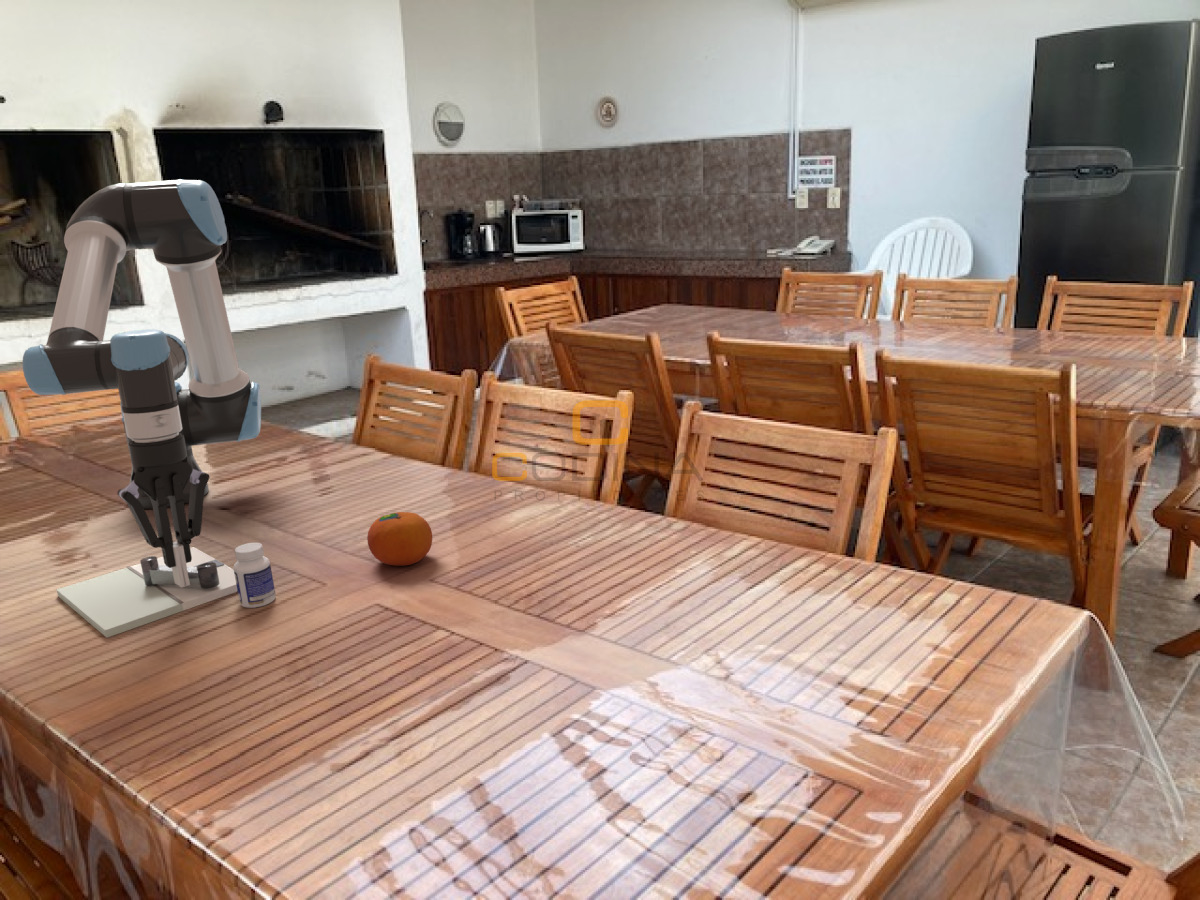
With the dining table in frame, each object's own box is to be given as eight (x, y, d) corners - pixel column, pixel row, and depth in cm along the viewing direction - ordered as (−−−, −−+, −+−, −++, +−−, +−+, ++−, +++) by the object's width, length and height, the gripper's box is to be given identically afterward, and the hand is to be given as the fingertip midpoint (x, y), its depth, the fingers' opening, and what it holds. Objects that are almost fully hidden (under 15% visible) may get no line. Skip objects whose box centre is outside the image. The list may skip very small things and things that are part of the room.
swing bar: (140, 585, 148) (135, 562, 147) (153, 578, 150) (148, 555, 149) (212, 590, 145) (207, 566, 143) (223, 583, 147) (219, 559, 146)
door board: (194, 553, 164) (193, 545, 164) (252, 586, 149) (251, 578, 149) (58, 596, 149) (56, 588, 149) (106, 637, 134) (104, 629, 134)
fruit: (447, 553, 158) (442, 508, 156) (410, 577, 149) (404, 531, 147) (395, 546, 163) (390, 502, 160) (357, 569, 154) (350, 523, 151)
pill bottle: (283, 595, 145) (274, 542, 143) (261, 610, 140) (251, 555, 138) (255, 592, 147) (245, 539, 144) (232, 606, 142) (222, 552, 140)
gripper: (117, 449, 131) (147, 604, 138) (209, 430, 140) (233, 577, 146) (100, 441, 137) (130, 590, 143) (190, 423, 145) (213, 565, 151)
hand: (182, 583), depth 144 cm, fingers closed
